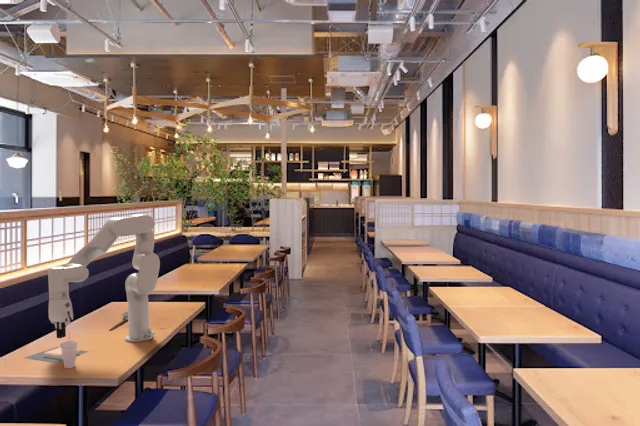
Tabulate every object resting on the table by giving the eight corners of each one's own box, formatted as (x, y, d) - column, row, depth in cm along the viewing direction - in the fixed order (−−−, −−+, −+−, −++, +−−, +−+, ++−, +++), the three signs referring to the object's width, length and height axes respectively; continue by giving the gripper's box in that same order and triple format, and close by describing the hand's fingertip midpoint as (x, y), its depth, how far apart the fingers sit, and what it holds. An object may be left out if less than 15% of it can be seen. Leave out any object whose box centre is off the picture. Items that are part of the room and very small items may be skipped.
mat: (88, 352, 214) (88, 351, 214) (56, 364, 199) (56, 363, 199) (57, 347, 222) (57, 346, 222) (23, 358, 207) (23, 357, 207)
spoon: (145, 314, 281) (145, 309, 281) (120, 332, 248) (119, 327, 248) (127, 316, 282) (126, 311, 281) (99, 334, 249) (98, 329, 248)
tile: (60, 351, 215) (79, 354, 211) (43, 356, 208) (63, 359, 203) (60, 347, 215) (79, 349, 211) (43, 352, 208) (62, 355, 203)
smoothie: (81, 363, 199) (80, 330, 199) (74, 369, 193) (72, 334, 192) (65, 364, 199) (64, 330, 199) (57, 369, 193) (56, 335, 192)
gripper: (78, 294, 209) (81, 336, 210) (55, 292, 215) (57, 333, 216) (63, 298, 202) (65, 341, 203) (39, 296, 208) (41, 338, 209)
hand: (61, 337), depth 209 cm, fingers closed
